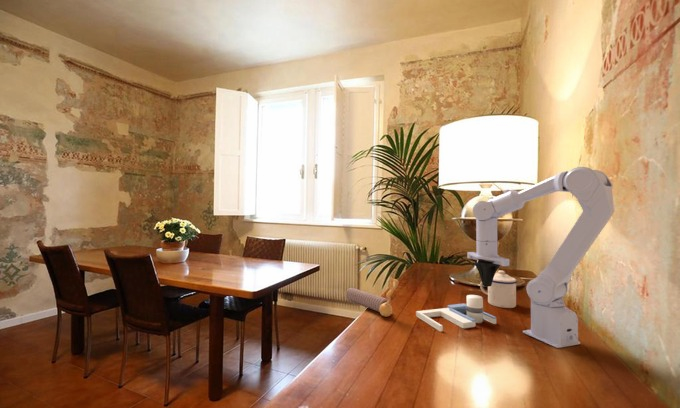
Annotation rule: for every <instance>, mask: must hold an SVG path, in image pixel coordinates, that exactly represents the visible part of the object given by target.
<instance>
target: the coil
mask: <svg viewBox="0 0 680 408" xmlns="http://www.w3.org/2000/svg"><path fill="white" fill-rule="evenodd" d="M345 298H346V300H347V301H348V302H351V303H355V304H356V305H359V306H362V307H365V308H368V309H370V310H373V311H375V312H379V313H380V311H379V308H380V306H381V304H383V303H385V302H387V301H388V298H387V297H383V296H380V295H376V294H375V293H374V294H373V293H369V292H366V291H364V290H361V289H358V288H354V287H350V288H348V289H347V290H346V292H345ZM389 304H390V305H391V301H390V302H389ZM391 306H392V305H391ZM369 307H370V308H369Z"/></svg>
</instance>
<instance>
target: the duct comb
mask: <svg viewBox="0 0 680 408" xmlns="http://www.w3.org/2000/svg"><path fill="white" fill-rule="evenodd" d="M466 304H467V303H464V302H463V303H457V304H456V303H454V304H448V305H447V304H446V307H443V308H436V309H435V308H434V309H425V310H424V309H423V310H416V311H415V316H416V317H417V318H418V319H420V320H422V321H423V322H424V323H426V324H427V325H429V326H431V327H432V328H434V329H435V330H437V331H438V332H443V331H444V330H443V329H444V326H443V324H440V322H437V321H435V320H434V319H432V318H434V317H435V318H436V317H442V318H443V319H445V320H447V321H449V322H451V323H452V324H454V325H456V326H458V327H459V328H462V329H469V328H475V327H476V323H475V320H474V319H472V318H470V317H468V316H467V310H466ZM484 320H485V321H487V322H489V323H491V324H493V325H497V317H496V316H494V315H492V314H491V313H488V312H485V311H483V321H484Z"/></svg>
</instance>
